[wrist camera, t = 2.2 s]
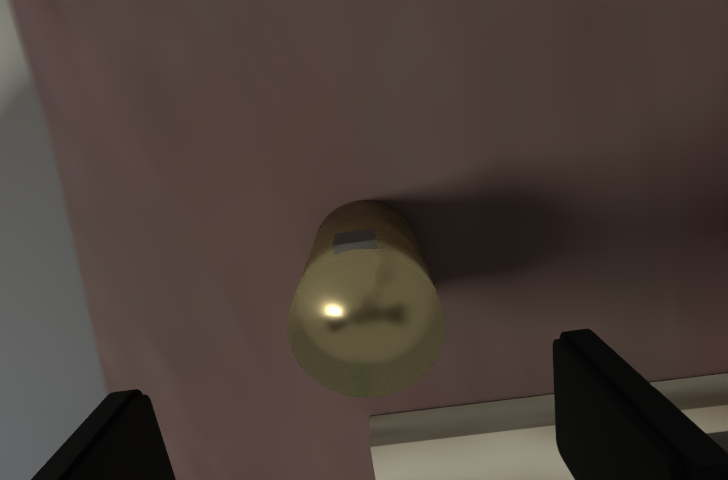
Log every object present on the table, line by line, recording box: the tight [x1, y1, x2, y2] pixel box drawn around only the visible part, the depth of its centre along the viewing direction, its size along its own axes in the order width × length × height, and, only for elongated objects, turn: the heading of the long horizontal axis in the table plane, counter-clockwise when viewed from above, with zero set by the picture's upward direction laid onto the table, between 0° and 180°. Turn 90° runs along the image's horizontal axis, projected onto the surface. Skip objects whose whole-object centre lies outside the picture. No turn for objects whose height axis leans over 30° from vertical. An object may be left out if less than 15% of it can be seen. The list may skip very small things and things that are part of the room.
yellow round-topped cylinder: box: [288, 200, 445, 397], centre depth 16 cm, size 5×4×7 cm
